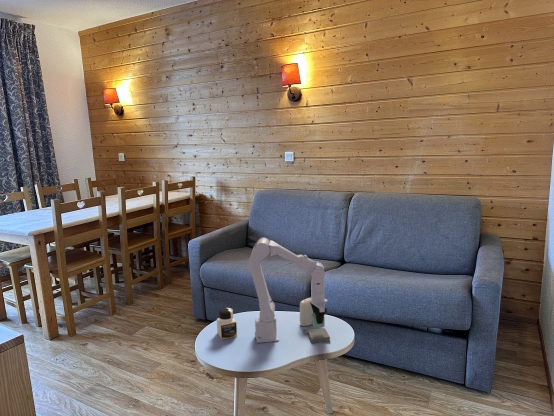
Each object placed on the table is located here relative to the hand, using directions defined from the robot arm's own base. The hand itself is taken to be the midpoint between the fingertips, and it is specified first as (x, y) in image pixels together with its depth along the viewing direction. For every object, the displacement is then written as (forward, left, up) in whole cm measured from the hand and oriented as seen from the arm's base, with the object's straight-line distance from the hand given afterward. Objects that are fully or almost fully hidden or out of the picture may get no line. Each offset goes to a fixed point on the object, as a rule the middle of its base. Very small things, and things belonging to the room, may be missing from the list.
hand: (318, 320), depth 164 cm
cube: (0, 0, -2) cm, 2 cm away
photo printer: (-1, +14, -8) cm, 16 cm away
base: (0, 0, -8) cm, 8 cm away
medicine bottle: (-40, +10, -8) cm, 42 cm away
